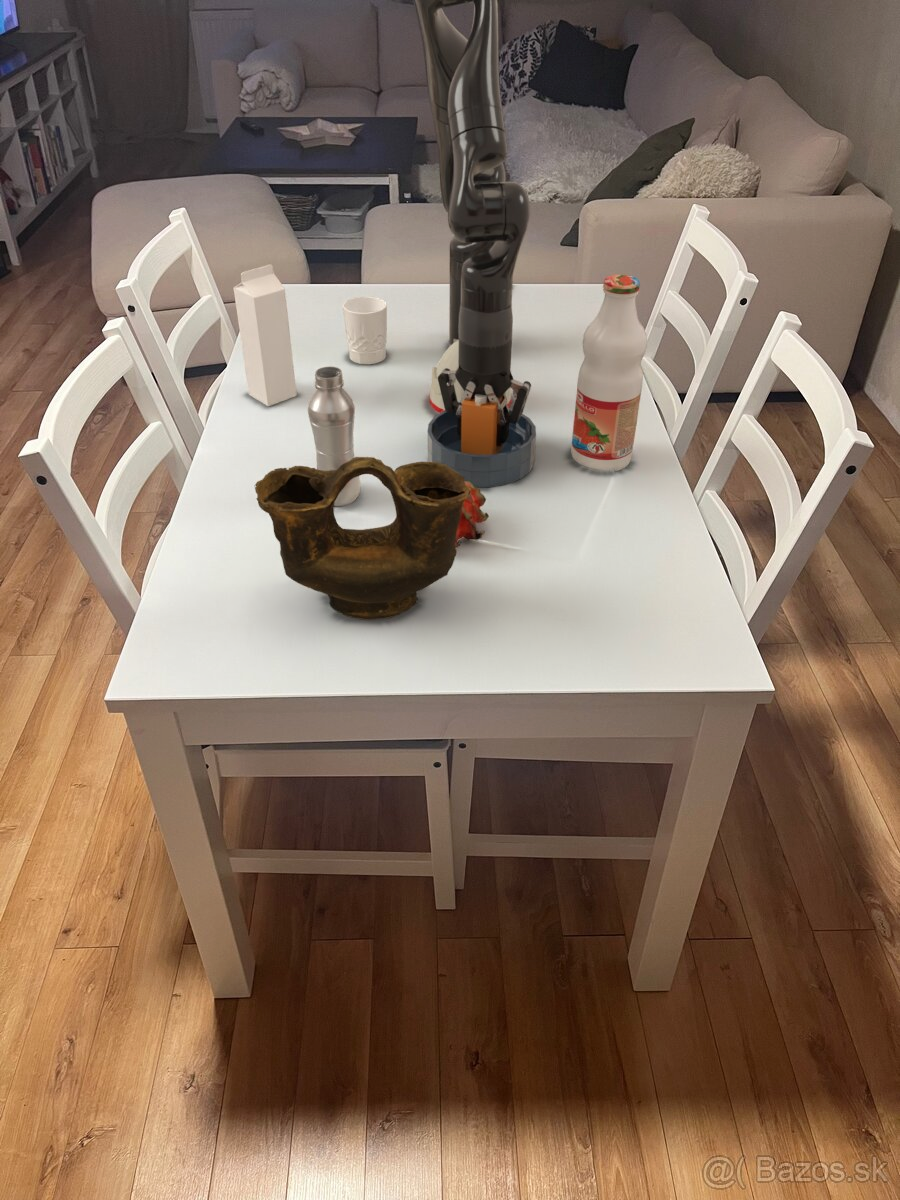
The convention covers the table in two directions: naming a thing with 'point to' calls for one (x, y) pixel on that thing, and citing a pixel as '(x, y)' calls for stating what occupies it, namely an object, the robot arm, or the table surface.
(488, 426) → the carton
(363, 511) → the table surface
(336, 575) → the pottery vessel
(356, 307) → the white cup
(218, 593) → the table surface
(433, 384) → the kitchen timer
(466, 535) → the dragon fruit
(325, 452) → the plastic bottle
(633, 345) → the fruit juice
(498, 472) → the bowl
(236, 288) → the milk
